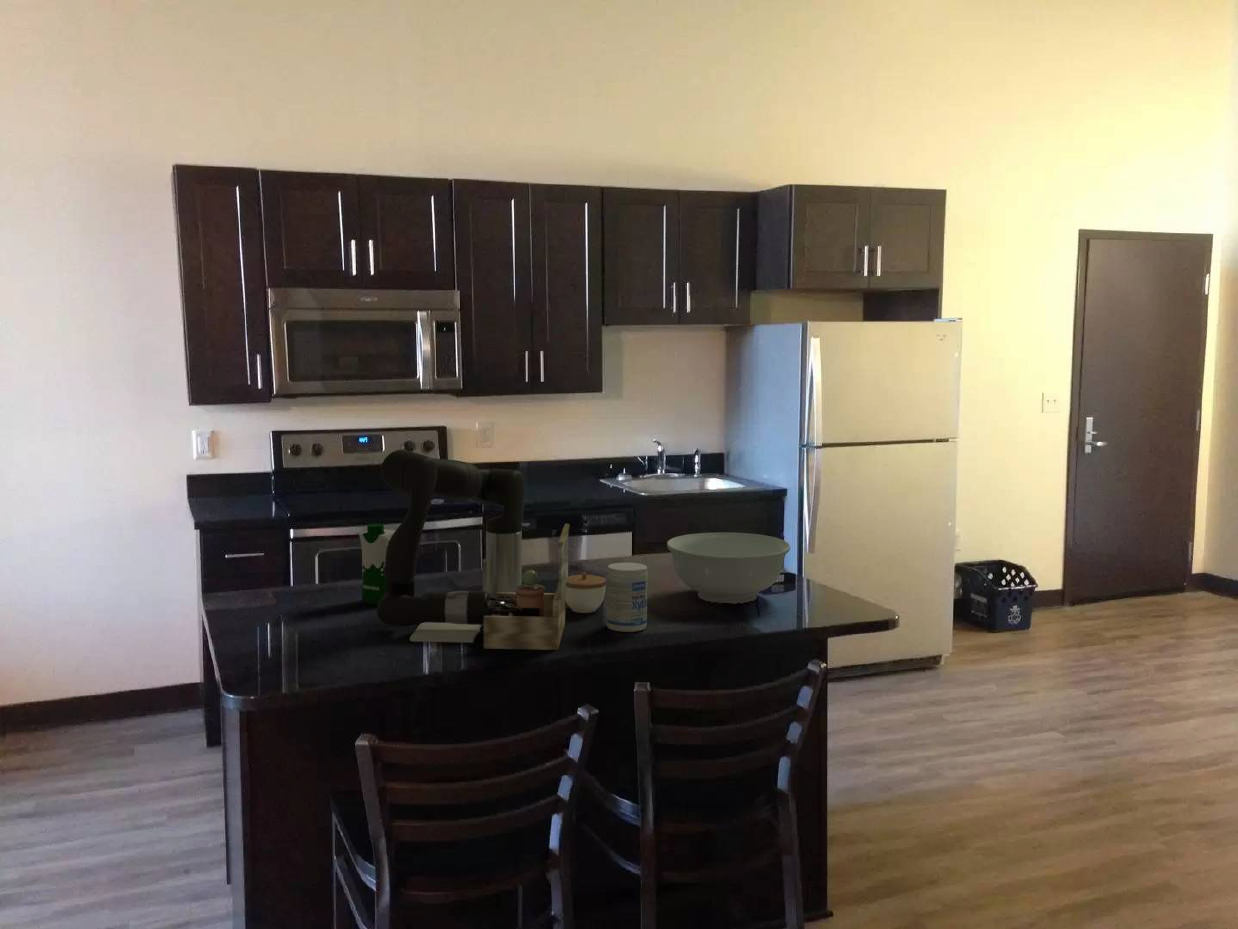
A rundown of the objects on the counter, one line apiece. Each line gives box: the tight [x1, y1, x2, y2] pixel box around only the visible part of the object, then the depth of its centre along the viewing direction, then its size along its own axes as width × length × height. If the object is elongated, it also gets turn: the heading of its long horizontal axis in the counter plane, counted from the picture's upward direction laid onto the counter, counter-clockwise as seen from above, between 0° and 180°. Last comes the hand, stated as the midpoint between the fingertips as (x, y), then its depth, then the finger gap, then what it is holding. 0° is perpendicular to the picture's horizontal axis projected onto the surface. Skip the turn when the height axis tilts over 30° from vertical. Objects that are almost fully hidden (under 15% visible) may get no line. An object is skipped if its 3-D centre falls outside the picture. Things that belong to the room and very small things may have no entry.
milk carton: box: [358, 523, 396, 606], centre depth 268 cm, size 9×9×20 cm
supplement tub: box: [605, 562, 649, 633], centre depth 248 cm, size 10×10×15 cm
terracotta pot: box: [516, 569, 546, 617], centre depth 240 cm, size 7×7×15 cm
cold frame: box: [483, 523, 570, 651], centre depth 240 cm, size 17×22×24 cm
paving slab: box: [409, 622, 483, 643], centre depth 241 cm, size 14×14×1 cm
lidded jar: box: [565, 572, 607, 614], centre depth 263 cm, size 11×11×9 cm
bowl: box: [666, 532, 791, 605], centre depth 278 cm, size 32×32×15 cm
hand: (540, 609), depth 240 cm, fingers closed on terracotta pot, 6 cm apart
